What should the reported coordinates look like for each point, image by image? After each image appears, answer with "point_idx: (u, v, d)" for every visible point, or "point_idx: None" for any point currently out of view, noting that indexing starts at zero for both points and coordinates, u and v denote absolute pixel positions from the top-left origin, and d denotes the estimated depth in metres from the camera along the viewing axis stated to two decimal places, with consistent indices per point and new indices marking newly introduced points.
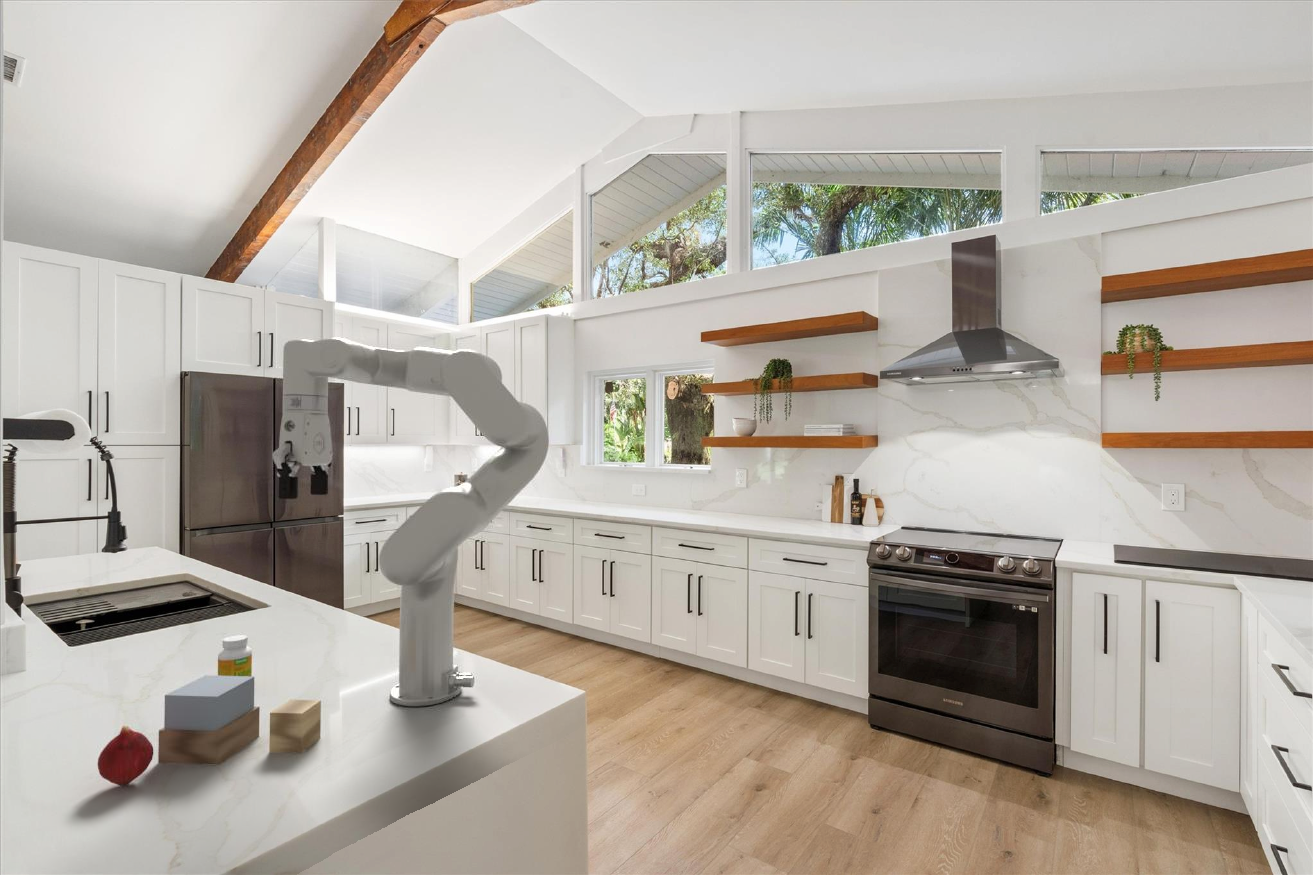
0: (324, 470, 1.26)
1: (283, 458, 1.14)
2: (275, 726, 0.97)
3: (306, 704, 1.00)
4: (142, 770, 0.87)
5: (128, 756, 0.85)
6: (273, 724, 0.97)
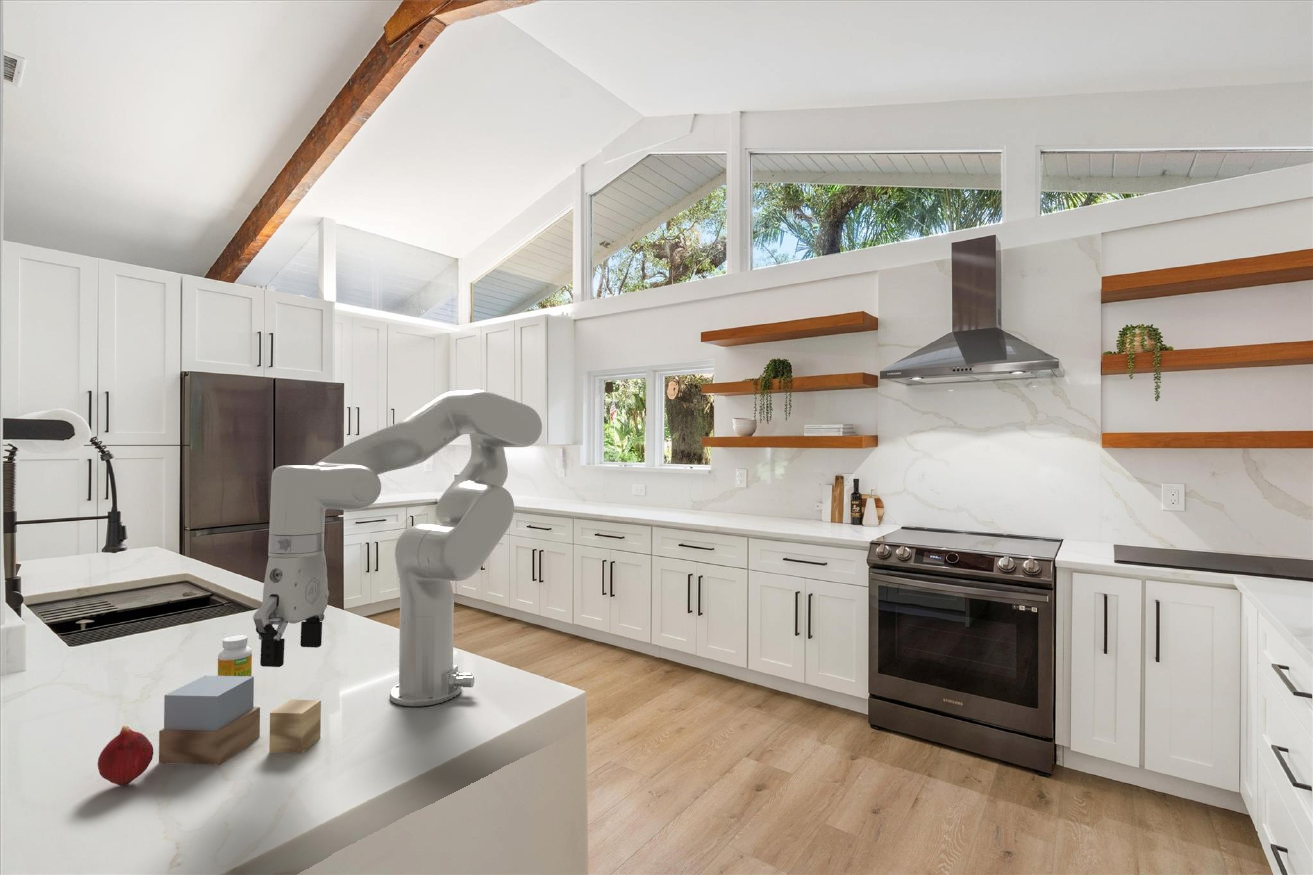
0: (318, 617, 1.04)
1: (267, 619, 0.92)
2: (275, 726, 0.97)
3: (306, 704, 1.00)
4: (142, 770, 0.87)
5: (128, 755, 0.85)
6: (273, 724, 0.97)
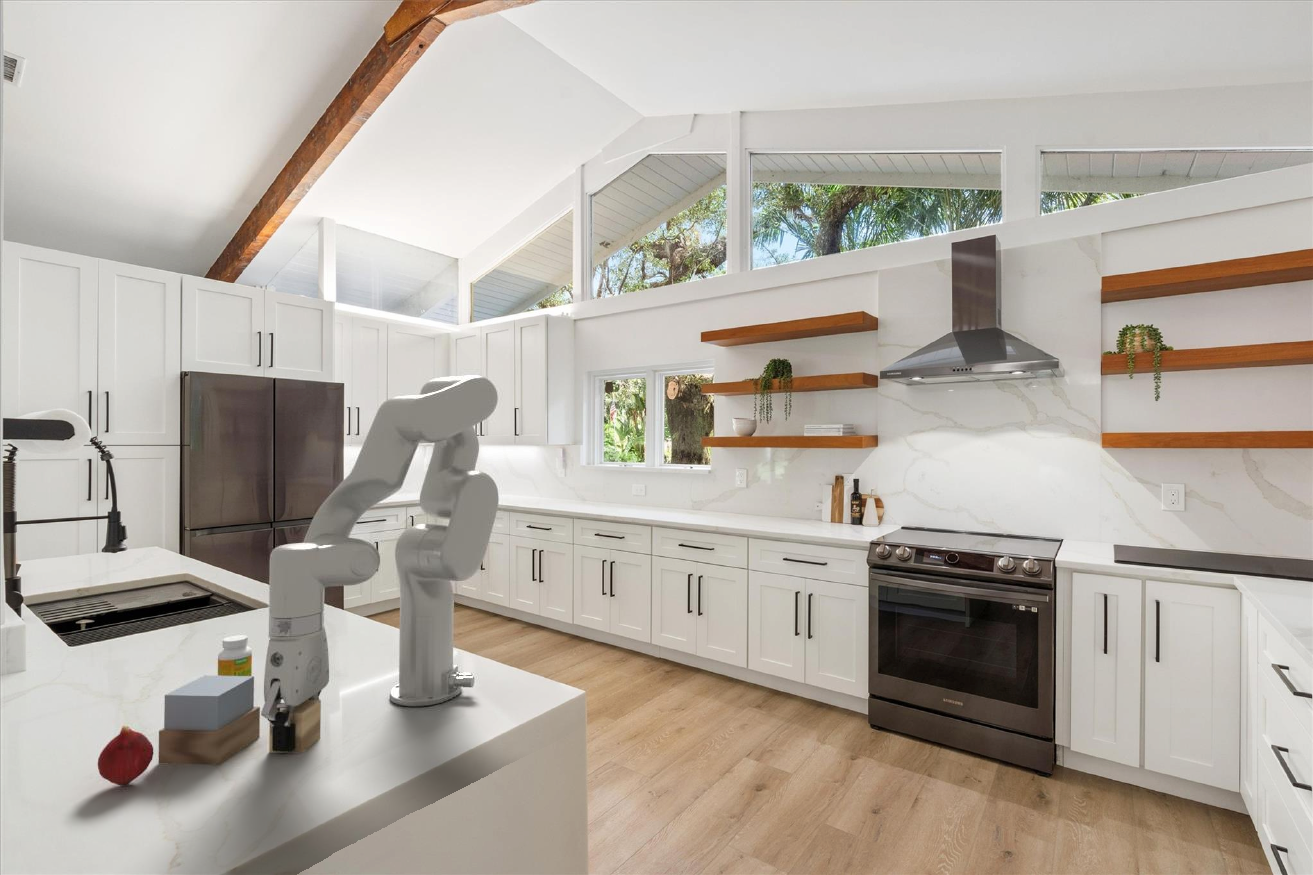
0: None
1: (275, 711, 0.93)
2: None
3: (306, 704, 1.00)
4: (142, 770, 0.87)
5: (128, 755, 0.85)
6: None
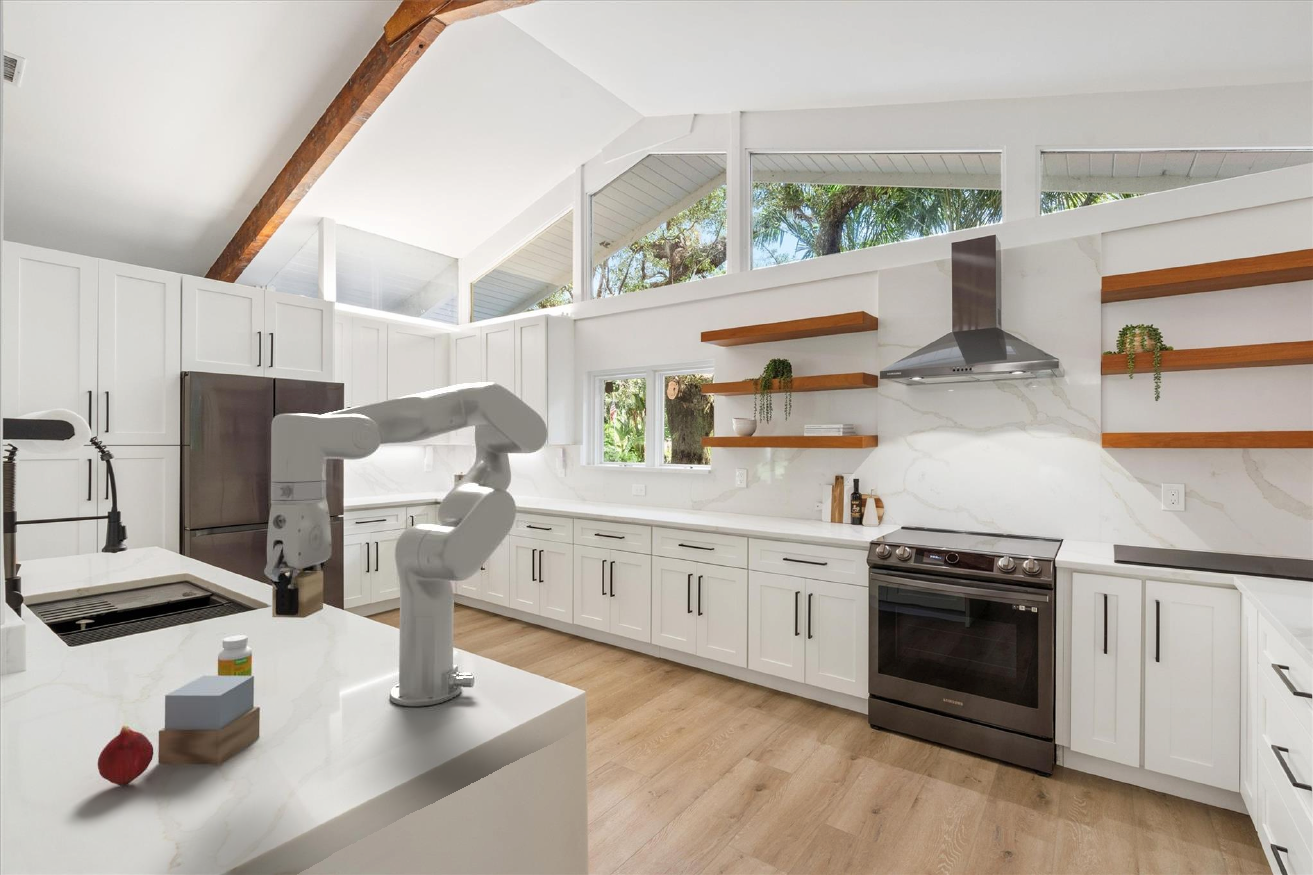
0: None
1: (278, 571, 0.94)
2: None
3: (308, 573, 1.00)
4: (142, 770, 0.87)
5: (128, 755, 0.85)
6: None
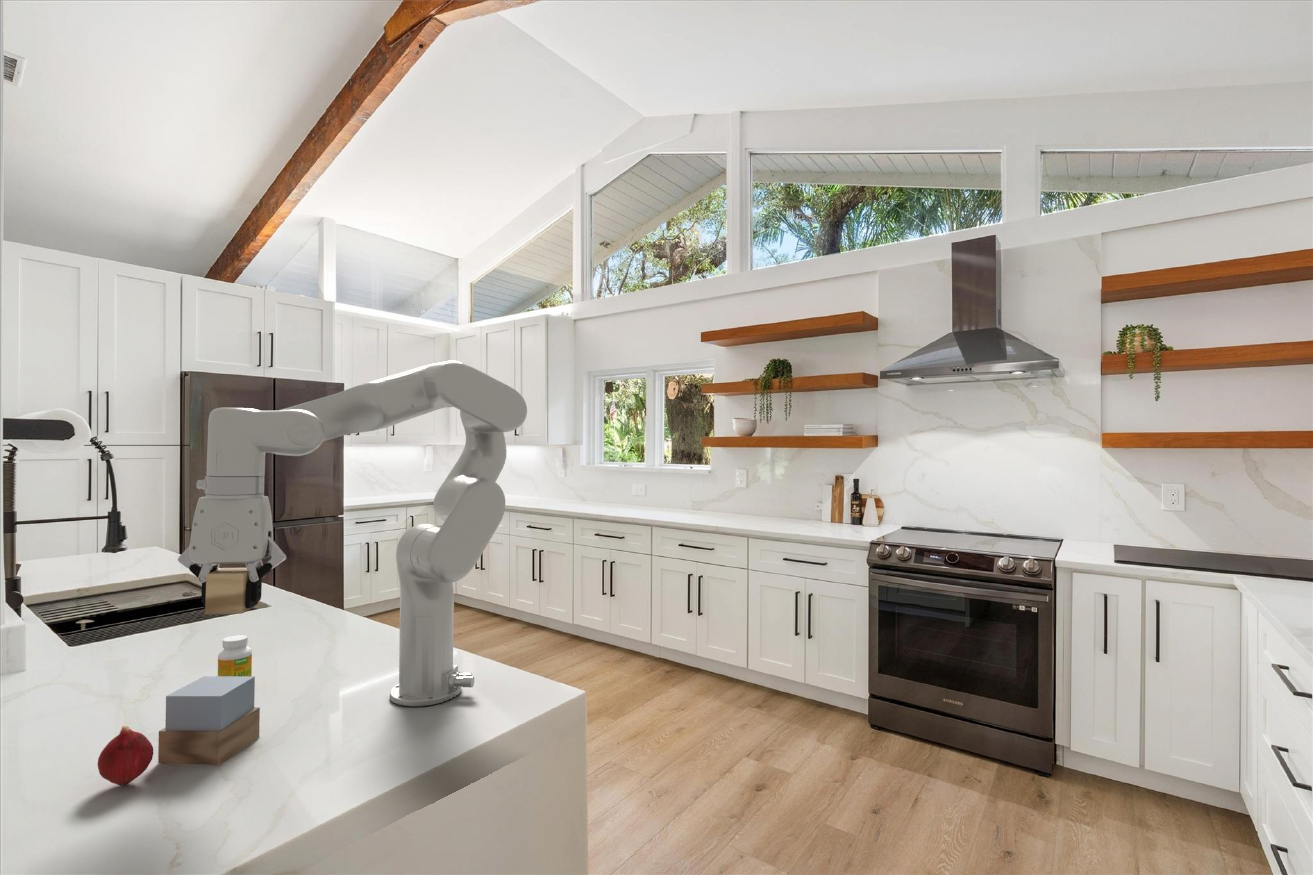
0: None
1: (189, 560, 0.97)
2: None
3: (234, 572, 0.97)
4: (142, 770, 0.87)
5: (128, 755, 0.85)
6: None
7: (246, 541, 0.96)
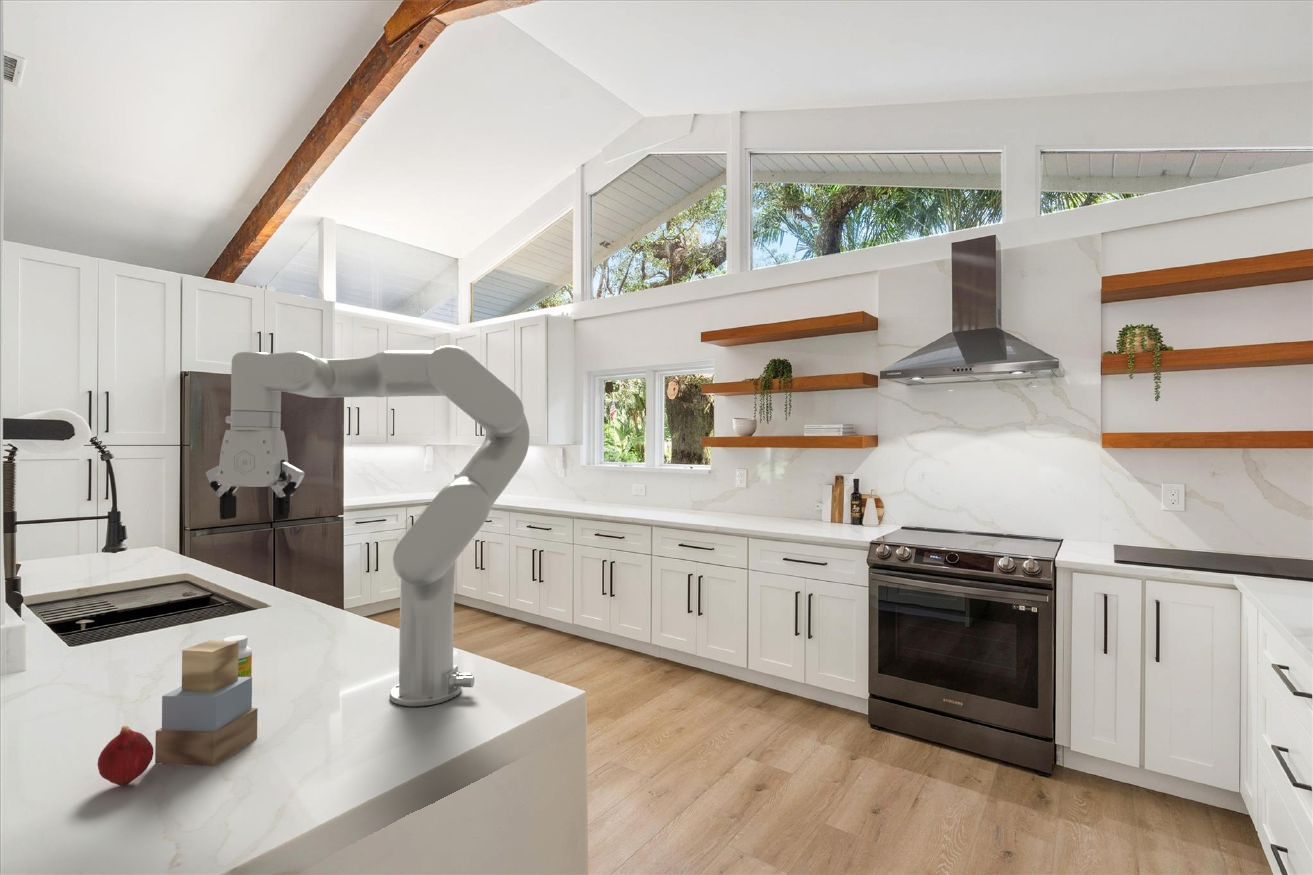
0: None
1: (213, 477, 1.13)
2: None
3: (209, 648, 0.96)
4: (142, 770, 0.87)
5: (128, 755, 0.85)
6: None
7: (261, 467, 1.11)
